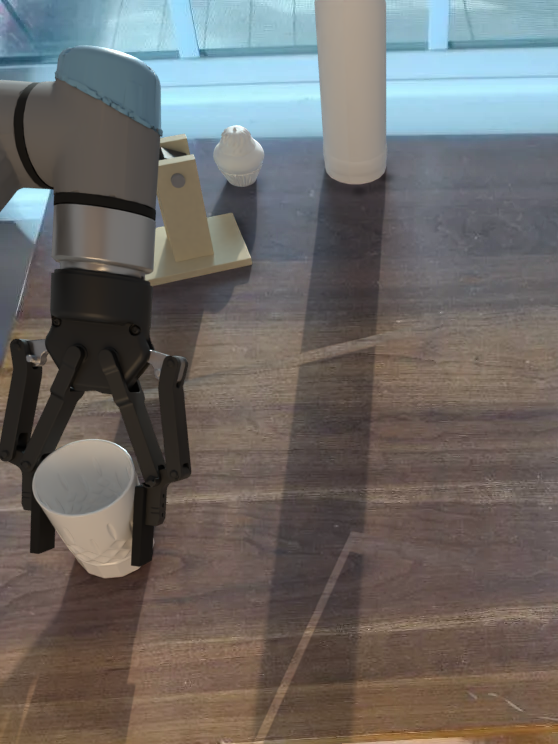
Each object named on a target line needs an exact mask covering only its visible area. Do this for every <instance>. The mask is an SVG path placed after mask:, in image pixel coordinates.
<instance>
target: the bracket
mask: <svg viewBox="0 0 558 744" xmlns="http://www.w3.org/2000/svg"><path fill="white" fill-rule="evenodd" d="M160 147H163V148H167V149H171V150H175V151H178V152H182V153H186V154H187V155H186V156H181V157H175V158H170V159H164V160H159V165H158V180H157V195H156V200H157V202H158V207H159V210H160V214H161V219H162V223H163V226H158V227H156V231H155V251H154V270H153V272H152V273H150V274H148V275H145V280H146V281H149V282H150V285H151V286H153V287H155V286H160V285H164V284H169V283H173V282H179V281H182V280H183V281H184V280H187V279H191V278H196V277H200V276H205V275H210V274H215V273H219V272H224V271H229V270H233V269H238V268H242V267H249V266H252V265H253V260H252V256H251V253H250V252H249V249H248V247H247V244H246V242H245V239H244V238H243V235H242V232H241V230H240V227H239V225H238V223H237V221H236V218H235V215H234V213H233V212H228V213H223V214H218V215H213V216H208V217H207V210H206V206H205V201H204V196H203V190H202V186H201V180H200V176H199V172H198V166H197V165H198V164H197V160H196V157H195V154H194V153H192V154H191V151H190V147H189V141H188V138H187V135H186V133H180V134H175V135H170V136H164V137H163V136H162V137H160Z"/></svg>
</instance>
